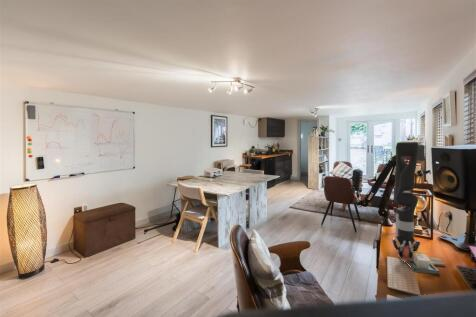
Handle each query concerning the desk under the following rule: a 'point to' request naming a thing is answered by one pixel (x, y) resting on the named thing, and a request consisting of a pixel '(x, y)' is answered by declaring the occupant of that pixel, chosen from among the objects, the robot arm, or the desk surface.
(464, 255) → the desk surface
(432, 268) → the tray
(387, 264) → the desk surface
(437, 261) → the board
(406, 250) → the pawn
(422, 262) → the die
